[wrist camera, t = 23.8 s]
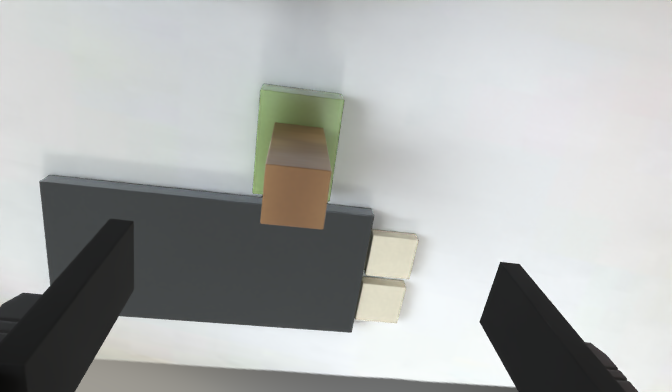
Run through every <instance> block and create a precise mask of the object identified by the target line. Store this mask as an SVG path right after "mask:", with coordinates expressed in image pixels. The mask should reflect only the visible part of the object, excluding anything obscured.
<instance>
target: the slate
mask: <svg viewBox="0 0 672 392" xmlns="http://www.w3.org/2000/svg"><path fill="white" fill-rule="evenodd" d="M39 183H40V192H41V201H42V211H43V220H44V230H45V239H46V249H47V258H48V268H49V277H50V286H51V284H52V283H53V282H54V281H55V280H56V279H57V278H58V277H59V275H60V274H61V273H62V272H63V271H64V270H65V269H66V268H67V266H68V265H69V264H70V263H71V262H72V261H73V260H74V258H75V257H76V256H77V255H78V254H79V253H80V252H81V251H82V249H83V248H84V247H85V246H86V245H87V244H88V243H89V242H90V240H91V239H92V238H93V237H94V236H95V235H96V234H97V232H98V231H99V230H100V229H101V228H102V227H103V226H104V225H105V223H106V222H107V221H108V220H109V219H110V218H111V219H120V220H129V221H134V291H133V292H132V294H131V296H130V298H129V299H128V301H127V303H126V304H125V306H124V308H123V310H122V311H121V313H120V315H119V316H126V317H140V318H154V319H168V320H182V321H196V322H210V323H224V324H238V325H252V326H266V327H280V328H294V329H308V330H322V331H336V332H350V333H351V332H352V328H353V323H354V318H355V312H356V307H357V302H358V297H359V292H360V287H361V282H362V276H363V271H364V266H365V261H366V256H367V251H368V246H369V240H370V235H371V230H372V225H373V220H374V214H373V211H372V209H369V208H359V207H350V206H340V205H331V204H327V208H326V215H325V222H324V228H323V229H311V228H301V227H290V226H280V225H269V224H261V223H260V220H261V208H262V197H255V196H245V195H235V194H226V193H216V192H207V191H197V190H188V189H178V188H169V187H159V186H150V185H140V184H131V183H121V182H112V181H102V180H93V179H83V178H73V177H64V176H54V175H48V176H47V177H45V178H44V179H42V180H41V181H40V182H39Z"/></svg>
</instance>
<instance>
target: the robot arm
mask: <svg viewBox="0 0 672 392" xmlns="http://www.w3.org/2000/svg"><path fill="white" fill-rule="evenodd" d="M133 291H134V221H129V220H120V219H111V218H110V219H109V220H108V221H107V222H106V223H105V225H104V226H103V227H102V228H101V229H100V230H99V231H98V232H97V234H96V235H95V236H94V237H93V238H92V239H91V240H90V242H89V243H88V244H87V245H86V246H85V247H84V248H83V249H82V251H81V252H80V253H79V254H78V255H77V256H76V257H75V258H74V260H73V261H72V262H71V263H70V264H69V265H68V266H67V268H66V269H65V270H64V271H63V272H62V273H61V274H60V275H59V277H58V278H57V279H56V280H55V281H54V282H53V283H52V284H51V286H50V287H49V288H48V289H47V290H46V291H45V292H44V294H43V295H42V294H31V293H22V294H20V295H18V296H16V297H14V298H13V299H11V300H9V301H7V302H5V303H4V304H2V305H1V306H0V392H75V390H76V388H77V387H78V385H79V383H80V382H81V380H82V378H83V377H84V375H85V373H86V371H87V370H88V368H89V366H90V364H91V363H92V361H93V359H94V358H95V356H96V354H97V353H98V351H99V349H100V347H101V346H102V344H103V342H104V340H105V339H106V337H107V335H108V334H109V332H110V330H111V328H112V327H113V325H114V323H115V322H116V320H117V318H118V316H119V315H120V313H121V311H122V310H123V308H124V306H125V304H126V303H127V301H128V299H129V298H130V296H131V294H132V292H133ZM480 323H481V325H482V327H483V329H484V331H485V332H486V334H487V336H488V338H489V340H490V341H491V343H492V345H493V347H494V349H495V350H496V352H497V354H498V356H499V358H500V359H501V361H502V363H503V365H504V367H505V368H506V370H507V372H508V374H509V375H510V377H511V379H512V381H513V383H514V384H515V386H516V388H517V390H518V391H519V392H638V391H637V390H636V389H635V387H634V386H633V385H632V384H631V383H630V382H629V381H627V378H626V377H625V376H624V375H623V374H622V372H621V371H619V370H618V368H617V367H616V365H615V364H614V363H613V362H612V361H611V360H610V359H609V357H608V356H607V355H606V354H605V353H603V352H602V351H601V350H599V349H598V348H597V347H595V346H594V345H593V344H591V343H587V342H584V341H583V340H582V338H581V337H580V336H579V335H578V334H577V332H576V331H575V330H574V329H573V328H572V326H571V325H570V324H569V323H568V322H567V320H566V319H565V318H564V317H563V316H562V314H561V313H560V312H559V311H558V310H557V308H556V307H555V306H554V305H553V304H552V302H551V301H550V300H549V299H548V298H547V296H546V295H545V294H544V293H543V292H542V290H541V289H540V288H539V287H538V286H537V284H536V283H535V282H534V281H533V280H532V278H531V277H530V276H529V275H528V274H527V272H526V271H525V270H524V269H523V268H522V266H521V265H520V264H514V263H505V262H500V264H499V267H498V270H497V273H496V276H495V279H494V282H493V285H492V288H491V290H490V293H489V296H488V299H487V302H486V305H485V308H484V311H483V314H482V316H481V319H480Z"/></svg>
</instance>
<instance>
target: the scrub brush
mask: <svg viewBox="0 0 672 392" xmlns="http://www.w3.org/2000/svg"><path fill="white" fill-rule="evenodd" d="M343 106H344V99H343V97H342V95H341V94H337V93H330V92H322V91H314V90H307V89H299V88H291V87H284V86H276V85H268V84H263V86H262V88H261V90H260V102H259V115H258V128H257V141H256V153H255V166H254V179H253V192H252V193H253V194H263V197H262V208H261V220H260V223H261V224H269V225H280V226H290V227H301V228H311V229H323V228H324V222H325V215H326V208H327V202H328V201H330V194H331V187H332V181H333V174H334V167H335V160H336V153H337V147H338V140H339V133H340V126H341V120H342V113H343Z"/></svg>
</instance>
